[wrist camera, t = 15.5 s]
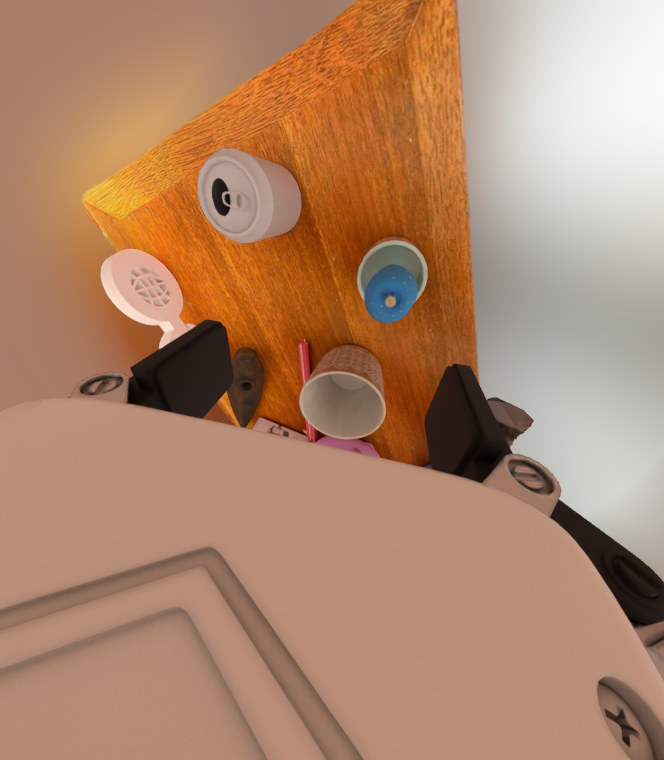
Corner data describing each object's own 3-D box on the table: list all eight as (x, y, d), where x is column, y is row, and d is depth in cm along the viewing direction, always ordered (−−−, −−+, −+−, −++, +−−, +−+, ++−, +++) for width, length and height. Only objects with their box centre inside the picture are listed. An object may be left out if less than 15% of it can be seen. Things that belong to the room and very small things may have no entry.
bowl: (367, 231, 33) (363, 235, 29) (431, 241, 32) (437, 246, 28) (356, 295, 38) (352, 306, 34) (412, 305, 37) (415, 317, 33)
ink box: (293, 473, 58) (244, 453, 57) (299, 455, 62) (254, 436, 61) (302, 454, 52) (249, 432, 52) (309, 435, 56) (259, 415, 56)
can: (246, 159, 31) (180, 138, 21) (305, 167, 30) (265, 150, 21) (250, 229, 35) (196, 238, 26) (302, 238, 35) (267, 251, 25)
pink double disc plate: (144, 249, 40) (80, 261, 32) (153, 244, 39) (91, 255, 31) (221, 366, 50) (188, 398, 42) (229, 364, 50) (198, 396, 41)
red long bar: (323, 447, 54) (302, 444, 55) (326, 440, 56) (305, 437, 57) (316, 345, 41) (289, 343, 42) (320, 340, 43) (294, 338, 44)
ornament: (380, 296, 37) (375, 342, 24) (365, 262, 34) (351, 293, 22) (416, 280, 34) (429, 320, 22) (402, 242, 32) (409, 264, 20)
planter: (307, 383, 48) (289, 420, 40) (329, 325, 41) (312, 357, 33) (368, 408, 49) (363, 450, 41) (400, 356, 42) (402, 394, 33)
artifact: (292, 369, 46) (247, 431, 56) (285, 351, 49) (244, 413, 59) (241, 358, 40) (201, 430, 50) (237, 338, 43) (200, 410, 53)
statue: (471, 407, 41) (428, 520, 55) (522, 432, 36) (460, 549, 50) (492, 394, 45) (447, 502, 60) (540, 415, 40) (478, 528, 54)
